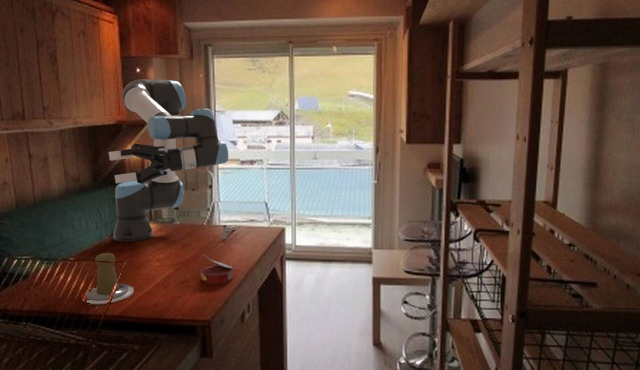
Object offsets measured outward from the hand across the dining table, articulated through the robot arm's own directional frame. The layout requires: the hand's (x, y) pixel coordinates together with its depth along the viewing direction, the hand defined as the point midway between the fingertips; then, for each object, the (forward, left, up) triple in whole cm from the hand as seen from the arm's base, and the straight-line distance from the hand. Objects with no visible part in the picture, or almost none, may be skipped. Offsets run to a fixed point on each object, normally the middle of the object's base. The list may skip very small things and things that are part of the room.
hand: (112, 168), depth 147 cm
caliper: (-9, +55, -35) cm, 65 cm away
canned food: (+29, +17, -35) cm, 48 cm away
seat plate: (+16, -12, -34) cm, 40 cm away
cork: (+16, -11, -33) cm, 39 cm away
